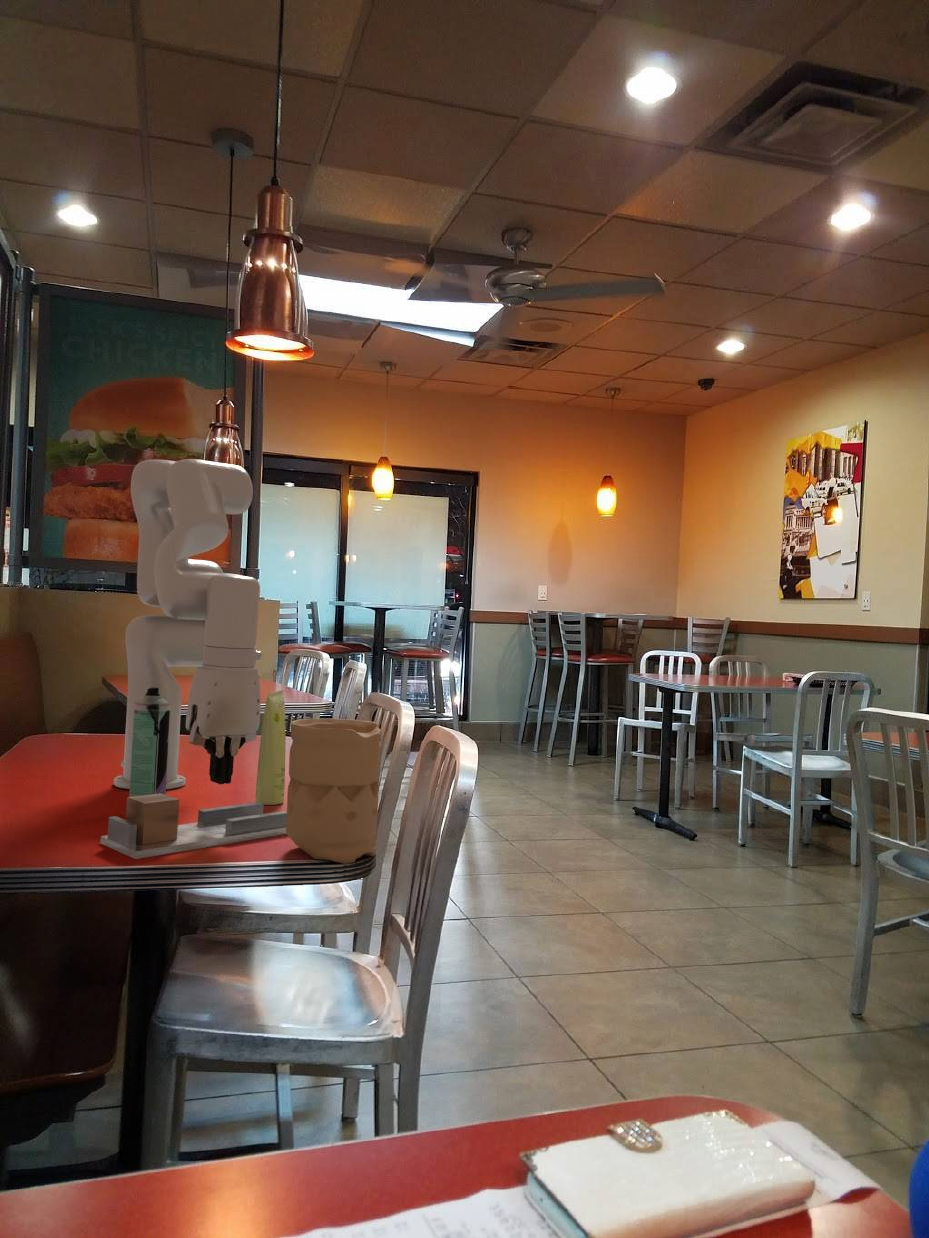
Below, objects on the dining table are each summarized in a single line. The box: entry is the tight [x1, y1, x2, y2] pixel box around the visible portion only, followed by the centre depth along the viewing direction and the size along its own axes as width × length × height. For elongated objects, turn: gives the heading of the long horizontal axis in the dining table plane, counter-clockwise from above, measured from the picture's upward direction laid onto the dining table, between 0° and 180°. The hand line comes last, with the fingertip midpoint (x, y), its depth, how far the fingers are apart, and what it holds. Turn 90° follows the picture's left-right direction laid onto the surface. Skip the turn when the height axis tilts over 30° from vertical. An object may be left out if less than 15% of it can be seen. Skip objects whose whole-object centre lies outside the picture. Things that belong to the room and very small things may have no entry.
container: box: [286, 717, 382, 865], centre depth 122 cm, size 13×13×18 cm
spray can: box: [128, 687, 170, 797], centre depth 142 cm, size 6×6×20 cm
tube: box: [254, 689, 287, 806], centre depth 153 cm, size 6×5×20 cm
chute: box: [100, 802, 287, 860], centre depth 127 cm, size 10×25×4 cm, turn 137°
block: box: [125, 793, 180, 845], centre depth 121 cm, size 5×5×6 cm
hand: (220, 781), depth 130 cm, fingers closed
